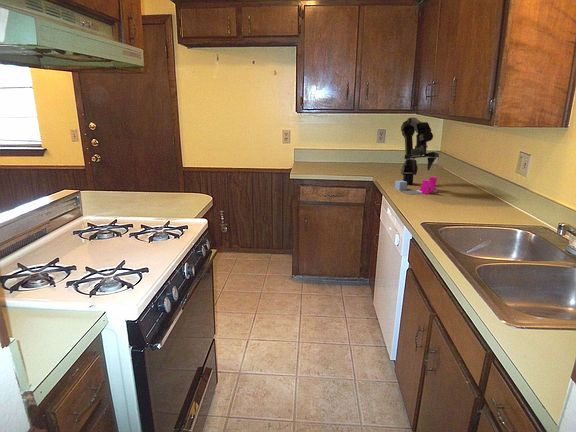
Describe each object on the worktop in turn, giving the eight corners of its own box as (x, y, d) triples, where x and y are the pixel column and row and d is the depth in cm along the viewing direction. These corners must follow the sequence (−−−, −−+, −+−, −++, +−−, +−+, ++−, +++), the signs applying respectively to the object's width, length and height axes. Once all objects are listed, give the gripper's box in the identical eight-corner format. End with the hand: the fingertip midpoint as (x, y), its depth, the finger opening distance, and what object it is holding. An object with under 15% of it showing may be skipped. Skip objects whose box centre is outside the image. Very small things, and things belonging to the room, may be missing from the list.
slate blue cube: (394, 188, 238) (395, 180, 237) (401, 188, 240) (402, 180, 239) (399, 190, 234) (400, 182, 232) (406, 190, 235) (407, 181, 234)
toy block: (425, 188, 240) (426, 175, 238) (435, 189, 236) (437, 177, 234) (417, 192, 228) (418, 179, 226) (427, 193, 225) (429, 181, 223)
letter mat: (400, 191, 232) (400, 190, 232) (432, 188, 239) (432, 188, 239) (409, 194, 224) (409, 194, 224) (442, 192, 231) (442, 191, 231)
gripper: (399, 144, 229) (399, 170, 230) (430, 140, 215) (429, 169, 216) (409, 146, 237) (408, 171, 237) (439, 142, 223) (438, 170, 224)
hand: (420, 170), depth 228 cm, fingers open, 9 cm apart
